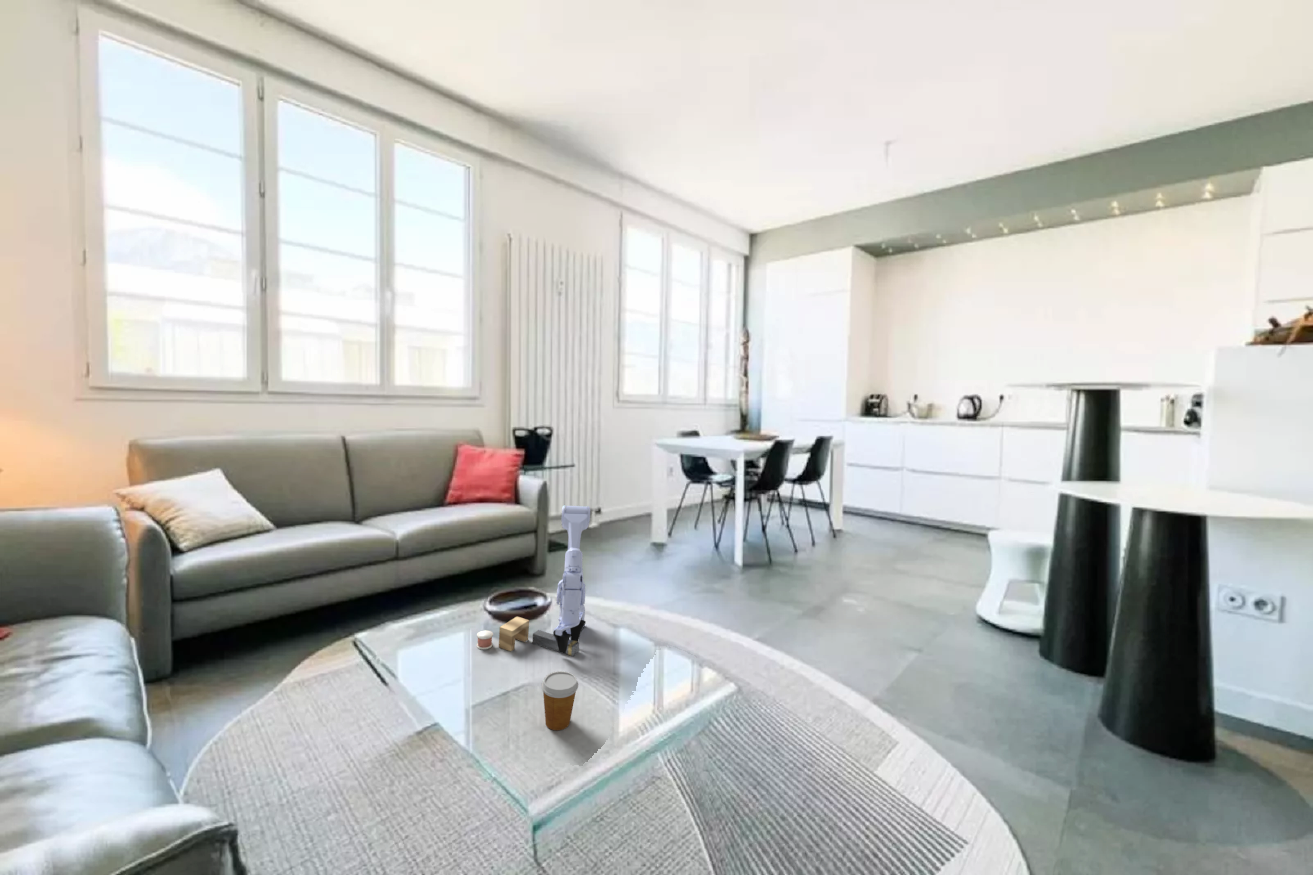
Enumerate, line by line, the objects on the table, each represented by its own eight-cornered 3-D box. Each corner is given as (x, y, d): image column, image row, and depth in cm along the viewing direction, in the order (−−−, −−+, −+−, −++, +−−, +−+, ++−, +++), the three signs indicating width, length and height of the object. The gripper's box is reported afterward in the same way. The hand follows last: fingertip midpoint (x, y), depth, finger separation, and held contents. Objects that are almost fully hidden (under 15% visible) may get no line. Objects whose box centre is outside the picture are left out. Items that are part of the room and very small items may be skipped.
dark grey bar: (538, 639, 189) (538, 629, 189) (578, 652, 183) (579, 642, 183) (532, 643, 186) (532, 633, 186) (573, 656, 180) (574, 646, 180)
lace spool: (483, 640, 186) (484, 629, 185) (495, 644, 184) (496, 632, 183) (473, 646, 181) (473, 635, 181) (485, 651, 179) (485, 639, 179)
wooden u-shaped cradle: (516, 635, 190) (517, 616, 189) (528, 639, 188) (529, 620, 187) (498, 647, 182) (499, 627, 181) (511, 651, 180) (512, 631, 179)
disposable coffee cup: (559, 707, 154) (562, 666, 152) (583, 723, 148) (586, 680, 146) (531, 722, 146) (533, 679, 145) (555, 740, 140) (558, 695, 139)
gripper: (571, 596, 189) (569, 634, 191) (548, 613, 176) (545, 653, 177) (590, 601, 186) (587, 640, 188) (567, 618, 173) (565, 659, 175)
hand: (568, 647), depth 183 cm, fingers open, 7 cm apart
